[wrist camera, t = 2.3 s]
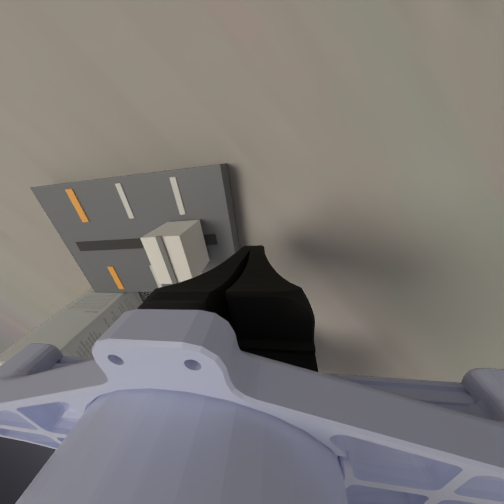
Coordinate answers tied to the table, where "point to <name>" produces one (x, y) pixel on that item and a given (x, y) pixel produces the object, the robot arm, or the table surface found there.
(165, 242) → the fader
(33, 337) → the small box
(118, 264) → the panel
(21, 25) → the table surface
